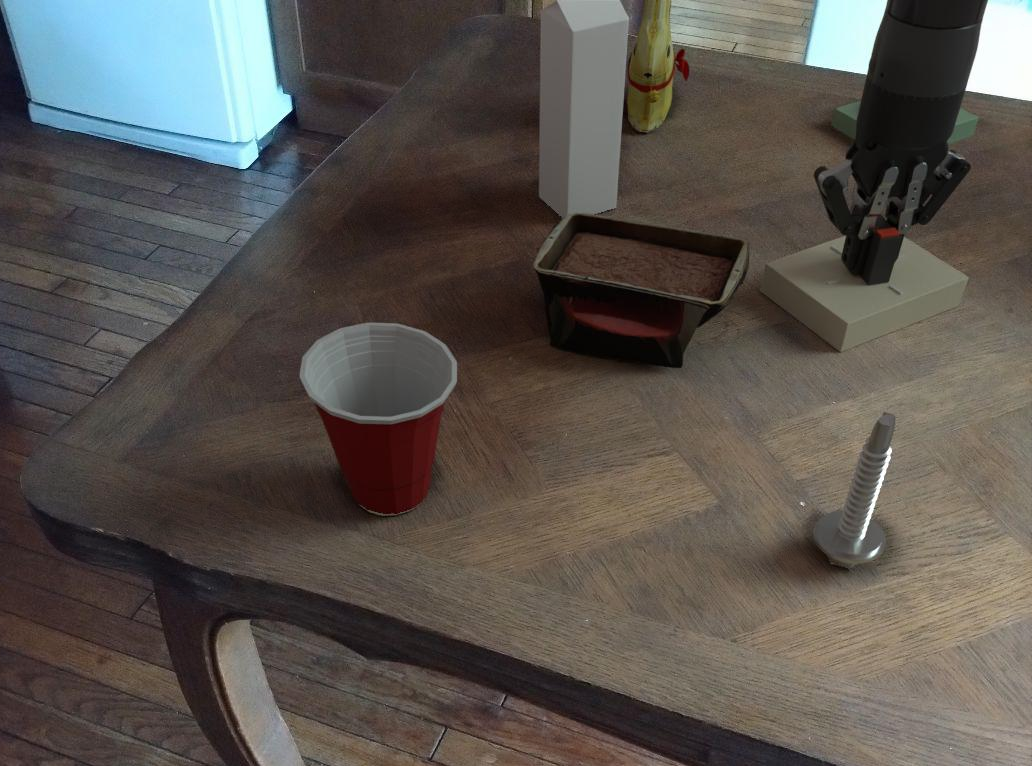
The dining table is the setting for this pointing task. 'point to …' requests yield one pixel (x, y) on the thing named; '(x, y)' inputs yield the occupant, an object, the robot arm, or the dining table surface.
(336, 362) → the plastic cup
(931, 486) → the dining table surface
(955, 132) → the button block
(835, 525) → the screw
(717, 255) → the baking dish
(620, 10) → the milk
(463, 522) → the dining table surface
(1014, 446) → the dining table surface
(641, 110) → the chocolate bunny
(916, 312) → the panel
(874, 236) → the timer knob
